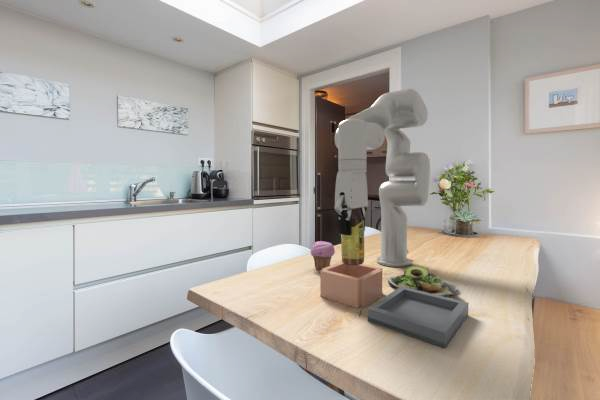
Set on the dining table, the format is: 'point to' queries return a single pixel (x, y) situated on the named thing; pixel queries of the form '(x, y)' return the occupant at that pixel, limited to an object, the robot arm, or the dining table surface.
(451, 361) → the dining table surface
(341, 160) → the robot arm
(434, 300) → the tray
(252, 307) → the dining table surface
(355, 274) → the square terracotta planter
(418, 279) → the salad plate
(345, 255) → the sauce bottle
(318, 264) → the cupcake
